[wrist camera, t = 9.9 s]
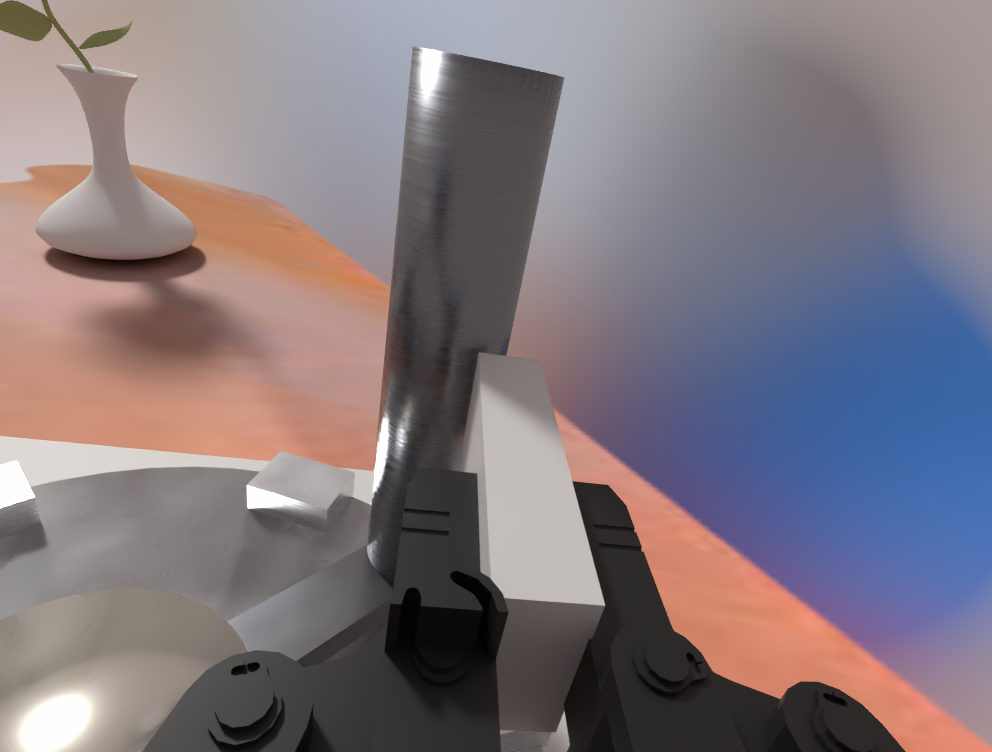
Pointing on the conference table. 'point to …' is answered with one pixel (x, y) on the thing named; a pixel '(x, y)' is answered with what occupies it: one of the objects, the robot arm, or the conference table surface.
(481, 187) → the round disc with peg
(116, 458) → the base plate
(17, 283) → the conference table surface
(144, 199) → the flower in vase
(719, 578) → the conference table surface
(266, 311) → the conference table surface
